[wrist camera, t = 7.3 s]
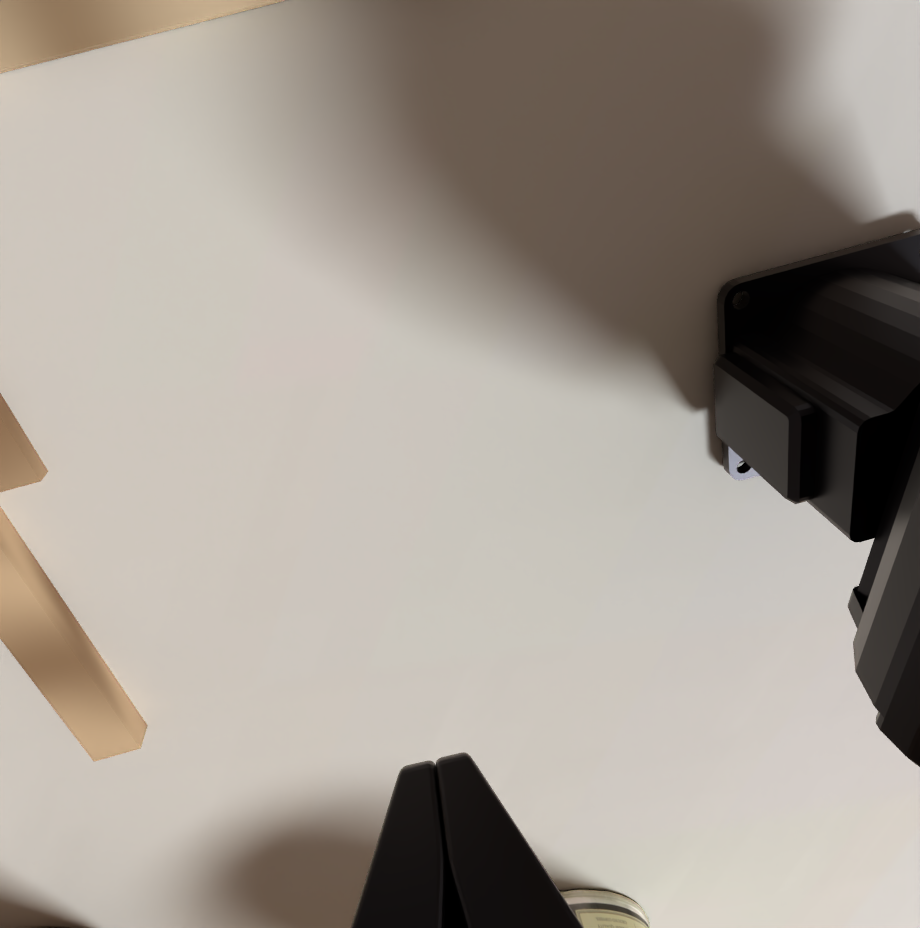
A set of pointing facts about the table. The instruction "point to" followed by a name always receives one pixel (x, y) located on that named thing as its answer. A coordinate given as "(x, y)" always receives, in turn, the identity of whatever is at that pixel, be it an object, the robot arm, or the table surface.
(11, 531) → the wooden turner
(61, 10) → the cork mat
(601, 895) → the coffee can
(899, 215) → the table surface
